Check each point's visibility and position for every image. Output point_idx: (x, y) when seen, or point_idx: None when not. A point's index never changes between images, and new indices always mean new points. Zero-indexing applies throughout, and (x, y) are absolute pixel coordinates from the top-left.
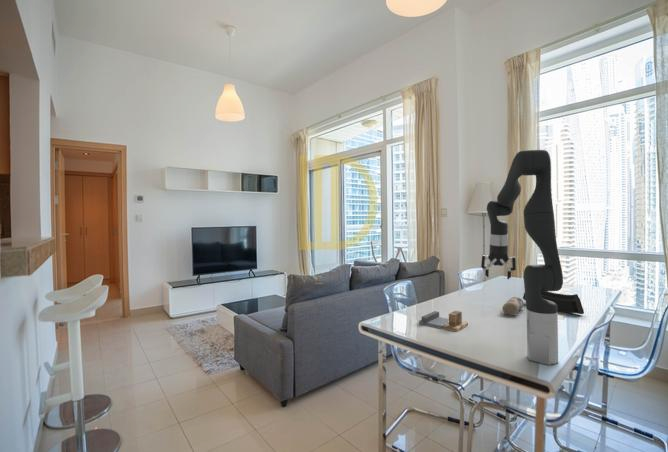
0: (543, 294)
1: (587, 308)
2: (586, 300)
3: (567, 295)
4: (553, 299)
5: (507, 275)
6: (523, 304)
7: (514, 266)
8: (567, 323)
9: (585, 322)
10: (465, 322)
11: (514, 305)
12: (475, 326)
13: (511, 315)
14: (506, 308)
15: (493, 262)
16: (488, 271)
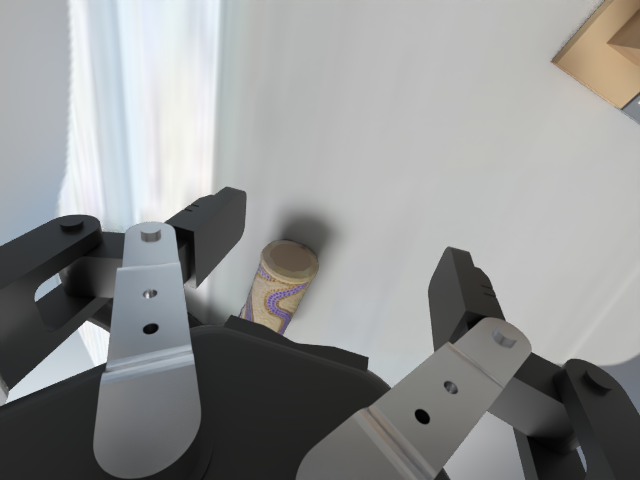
0: None
1: None
2: (106, 361)
3: (92, 316)
4: None
5: (225, 209)
6: (240, 315)
7: (21, 248)
8: (127, 172)
9: (83, 190)
10: (571, 64)
11: (270, 263)
12: (510, 51)
13: (293, 242)
14: (303, 263)
15: (397, 413)
16: (462, 293)
